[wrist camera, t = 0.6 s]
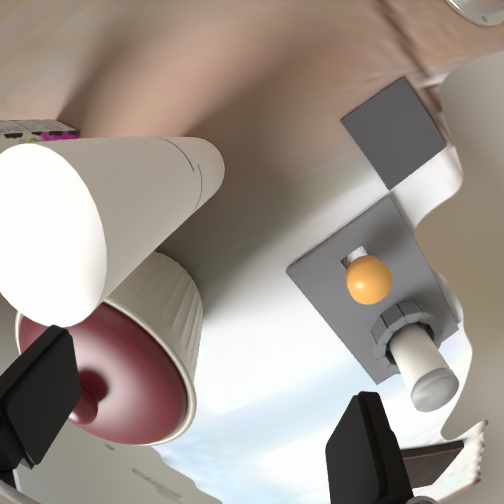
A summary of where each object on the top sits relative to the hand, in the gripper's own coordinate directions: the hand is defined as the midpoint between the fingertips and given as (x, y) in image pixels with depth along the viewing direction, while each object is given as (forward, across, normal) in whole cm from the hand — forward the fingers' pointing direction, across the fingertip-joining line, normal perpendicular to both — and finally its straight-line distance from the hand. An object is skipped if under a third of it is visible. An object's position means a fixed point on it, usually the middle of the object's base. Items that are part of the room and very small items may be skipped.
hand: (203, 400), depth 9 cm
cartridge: (+26, -21, +10) cm, 35 cm away
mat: (+26, -13, -12) cm, 32 cm away
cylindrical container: (+27, +7, -4) cm, 28 cm away
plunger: (+24, -12, +3) cm, 27 cm away
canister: (+27, +10, +12) cm, 31 cm away
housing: (+26, -18, +7) cm, 33 cm away
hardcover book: (+28, -40, +45) cm, 67 cm away
